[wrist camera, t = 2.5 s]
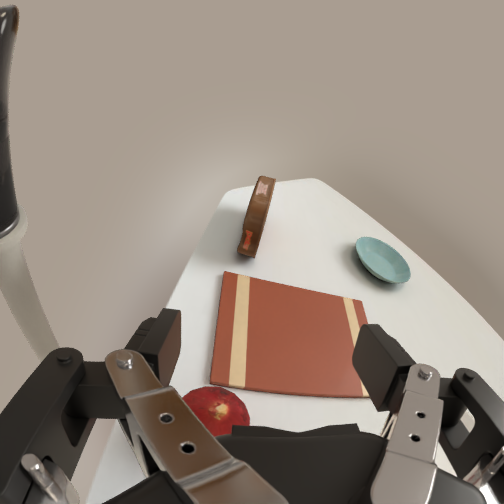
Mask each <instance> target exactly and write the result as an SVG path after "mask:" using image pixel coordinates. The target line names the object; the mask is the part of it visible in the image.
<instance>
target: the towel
mask: <svg viewBox="0 0 504 504" xmlns="http://www.w3.org/2000/svg"><path fill="white" fill-rule="evenodd" d="M363 324H368V322H367V319H366V315H365V311H364V308H363V304H362V301H360V300H355V299H350V298H345V297H340V296H335V295H330V294H326V293H321V292H316V291H311V290H307V289H302V288H297V287H293V286H288V285H284V284H279V283H275V282H270V281H266V280H261V279H257V278H252V277H248V276H244V275H240V274H235V273H231V272H226V271H224V274H223V282H222V289H221V296H220V304H219V311H218V319H217V326H216V334H215V342H214V350H213V359H212V367H211V375H210V384H215V385H220V386H226V387H233V388H239V389H246V390H254V391H262V392H270V393H280V394H291V395H304V396H320V397H352V398H370V396H369V394H368V392H367V391H366V389H365V387H364V385H363V383H362V381H361V380H360V378H359V376H358V374H357V372H356V370H355V369H354V367H353V364H352V355H353V351H354V348H355V344H356V341H357V337H358V334H359V330H360V328H361V326H362V325H363Z"/></svg>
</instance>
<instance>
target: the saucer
mask: <svg viewBox="0 0 504 504" xmlns="http://www.w3.org/2000/svg"><path fill="white" fill-rule="evenodd" d="M356 249H357V253H358V256H359V258H360V260H361V262H362V263H363V265H364V266H365V267H366V269H367V270H368V271H369V272H370V273H371V274H373V275H374V276H376V277H377V278H379V279H381V280H383V281H386V282H390V283H404V282H407V281H408V280H409V279H410V276H411V273H410V269H409V266H408V264H407V263H406V261H405V260H404V258H403V257H402V256H401V255H400V254H399V253H398V252H397V251H396V250H395V249H393V248H392V247H391V246H389V245H388V244H386V243H384V242H382V241H380V240H378V239H375V238H371V237H361V238H359V239H358V240H357V242H356Z"/></svg>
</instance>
